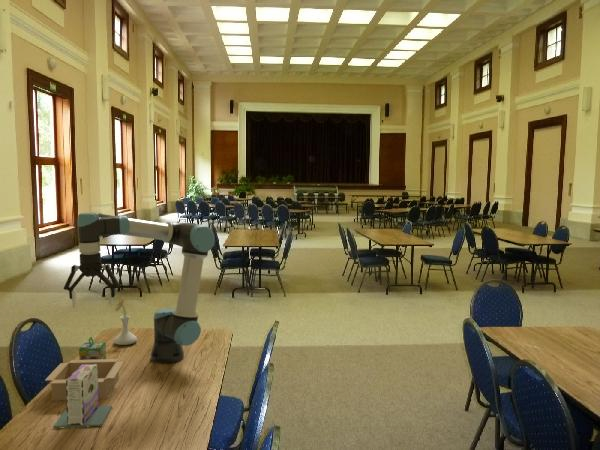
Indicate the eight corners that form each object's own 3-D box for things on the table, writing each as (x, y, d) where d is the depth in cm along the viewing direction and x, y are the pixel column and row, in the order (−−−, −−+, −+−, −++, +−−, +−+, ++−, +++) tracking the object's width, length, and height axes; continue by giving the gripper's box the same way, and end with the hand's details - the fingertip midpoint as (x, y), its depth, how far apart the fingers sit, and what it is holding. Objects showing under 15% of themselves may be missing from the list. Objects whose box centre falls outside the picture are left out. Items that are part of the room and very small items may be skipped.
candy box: (83, 406, 188) (82, 363, 186) (99, 406, 188) (98, 363, 186) (66, 425, 174) (65, 379, 172) (83, 425, 174) (82, 379, 172)
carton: (126, 376, 217) (125, 358, 216) (112, 401, 194) (111, 381, 193) (64, 378, 214) (63, 360, 213) (42, 403, 191) (41, 383, 190)
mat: (112, 407, 189) (112, 405, 189) (101, 426, 175) (101, 424, 175) (67, 409, 187) (67, 407, 187) (53, 428, 173) (53, 426, 173)
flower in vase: (116, 339, 263) (115, 292, 261) (139, 339, 265) (138, 292, 262) (110, 348, 251) (109, 299, 248) (134, 347, 252) (132, 298, 249)
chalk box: (101, 374, 219) (100, 341, 218) (79, 374, 218) (78, 341, 217) (107, 366, 228) (106, 334, 227) (85, 366, 227) (84, 334, 226)
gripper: (125, 250, 202) (127, 301, 204) (59, 251, 198) (62, 304, 201) (121, 253, 194) (124, 307, 197) (52, 255, 191) (56, 310, 193)
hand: (93, 306), depth 199 cm, fingers open, 13 cm apart
